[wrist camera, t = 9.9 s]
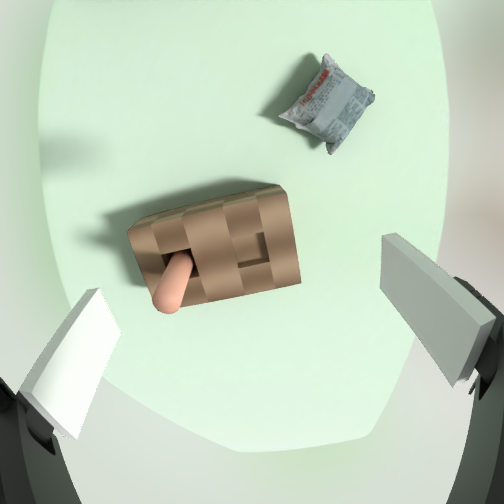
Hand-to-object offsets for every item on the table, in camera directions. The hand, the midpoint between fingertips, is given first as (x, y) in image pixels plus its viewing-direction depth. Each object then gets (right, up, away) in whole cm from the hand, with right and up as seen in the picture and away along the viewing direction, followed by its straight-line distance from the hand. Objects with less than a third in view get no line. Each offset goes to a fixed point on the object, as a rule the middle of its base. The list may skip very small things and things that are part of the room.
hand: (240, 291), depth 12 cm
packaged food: (+10, +22, +21) cm, 32 cm away
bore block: (-4, +3, +28) cm, 28 cm away
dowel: (-9, +1, +26) cm, 27 cm away
